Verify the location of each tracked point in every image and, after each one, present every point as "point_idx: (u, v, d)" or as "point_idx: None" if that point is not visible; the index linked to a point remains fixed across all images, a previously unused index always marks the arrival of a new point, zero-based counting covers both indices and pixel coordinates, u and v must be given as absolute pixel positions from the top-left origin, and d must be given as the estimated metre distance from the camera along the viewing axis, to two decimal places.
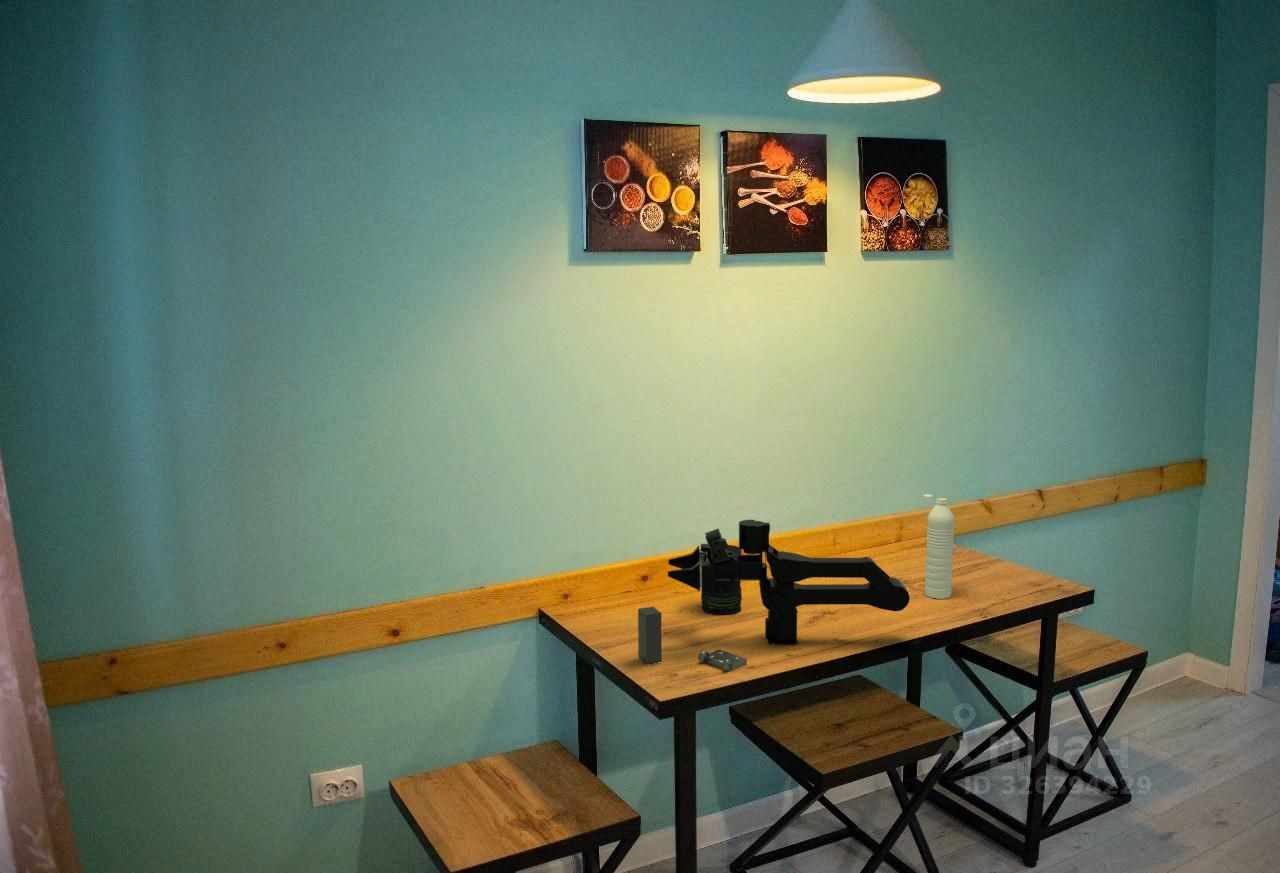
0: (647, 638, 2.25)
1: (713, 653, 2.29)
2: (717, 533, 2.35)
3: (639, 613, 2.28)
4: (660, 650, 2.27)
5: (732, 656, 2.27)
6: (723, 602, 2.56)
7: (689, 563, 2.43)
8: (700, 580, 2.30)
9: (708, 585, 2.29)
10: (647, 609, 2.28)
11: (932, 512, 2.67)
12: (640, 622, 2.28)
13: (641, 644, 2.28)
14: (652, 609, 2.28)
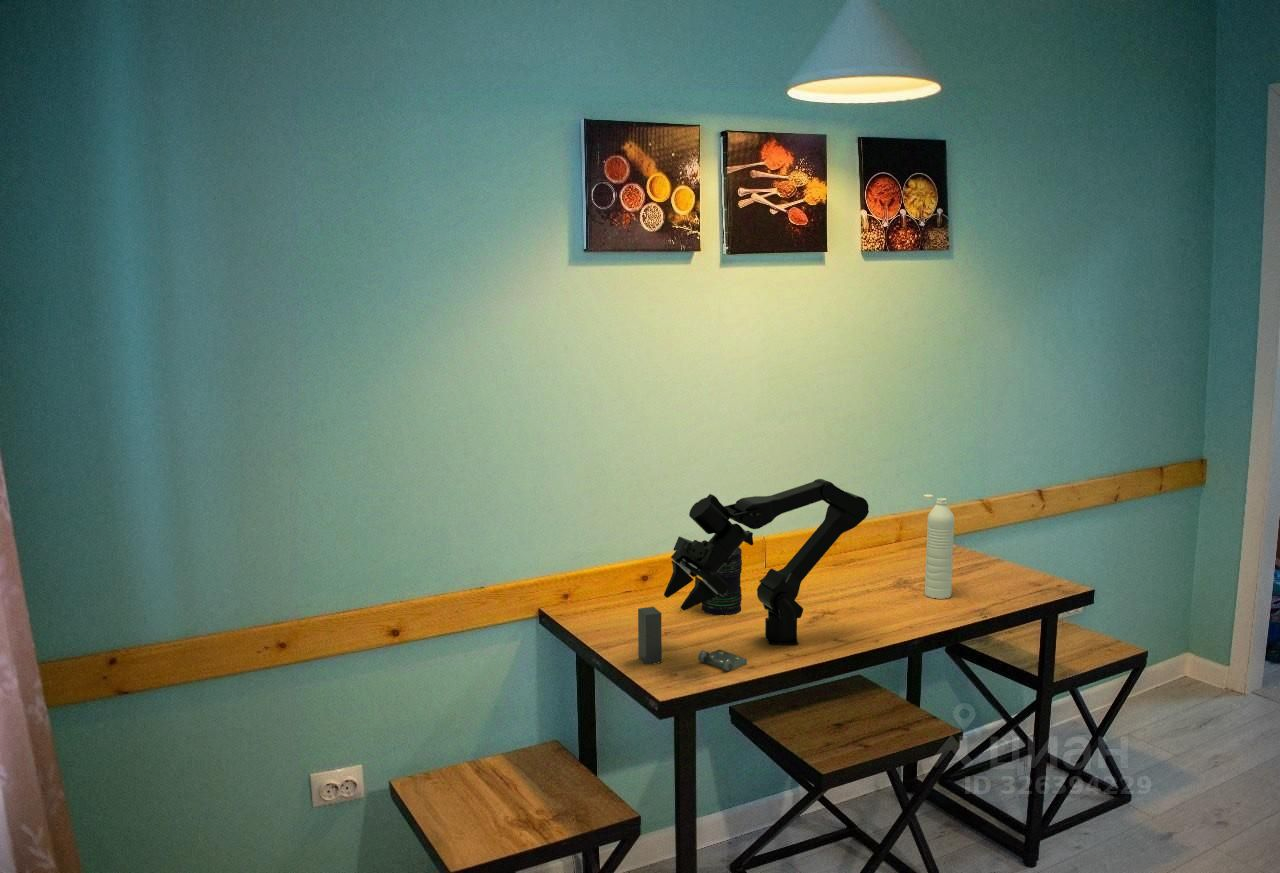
0: (647, 638, 2.25)
1: (713, 653, 2.29)
2: (685, 542, 2.26)
3: (639, 613, 2.28)
4: (660, 650, 2.27)
5: (732, 656, 2.27)
6: (723, 602, 2.56)
7: (680, 580, 2.34)
8: (712, 589, 2.23)
9: (722, 587, 2.22)
10: (647, 609, 2.28)
11: (932, 512, 2.67)
12: (640, 622, 2.28)
13: (641, 644, 2.28)
14: (652, 609, 2.28)
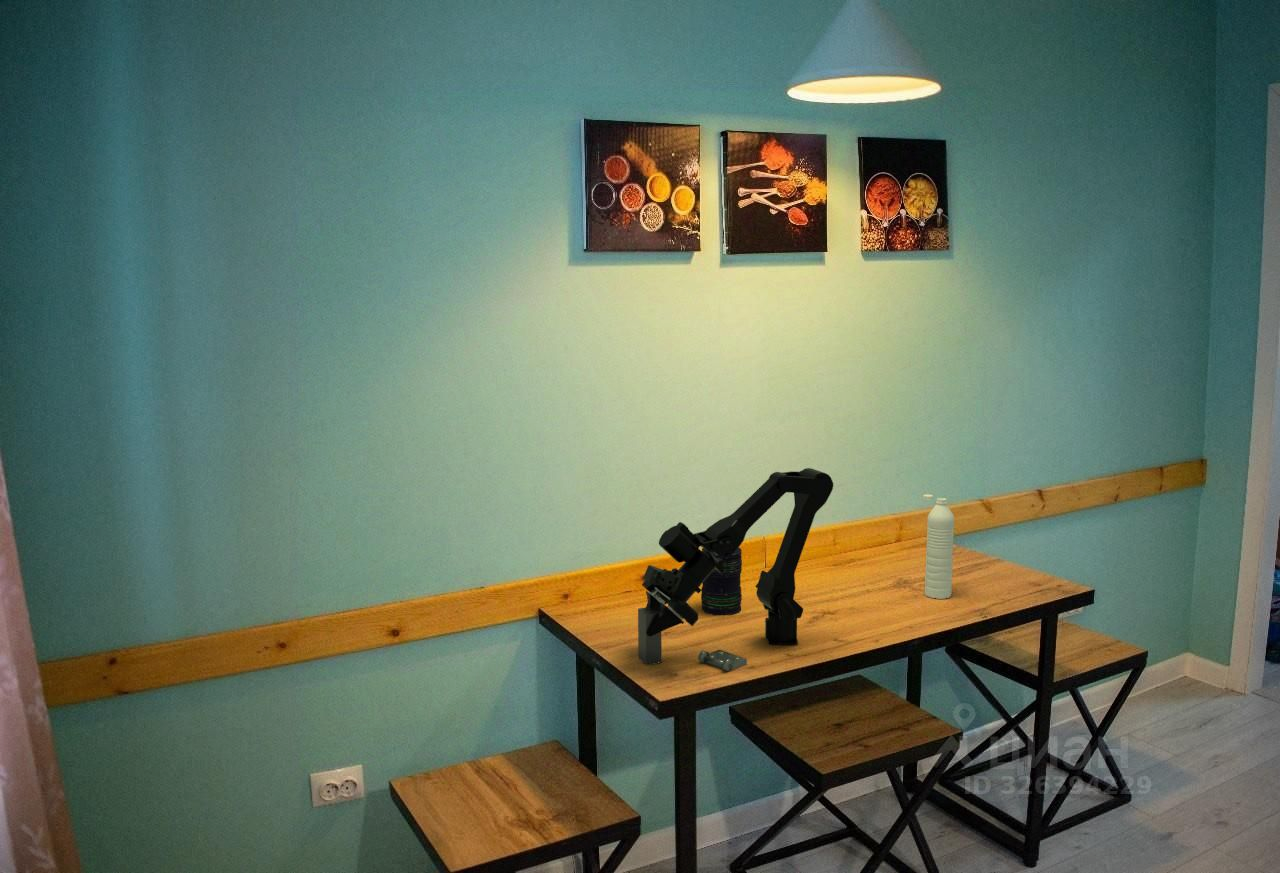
0: (647, 638, 2.25)
1: (713, 653, 2.29)
2: (654, 571, 2.24)
3: (639, 613, 2.28)
4: (660, 650, 2.27)
5: (732, 656, 2.27)
6: (723, 602, 2.56)
7: None
8: (677, 615, 2.23)
9: (691, 616, 2.20)
10: (647, 609, 2.28)
11: (932, 512, 2.67)
12: (640, 622, 2.28)
13: (641, 644, 2.28)
14: (652, 609, 2.28)
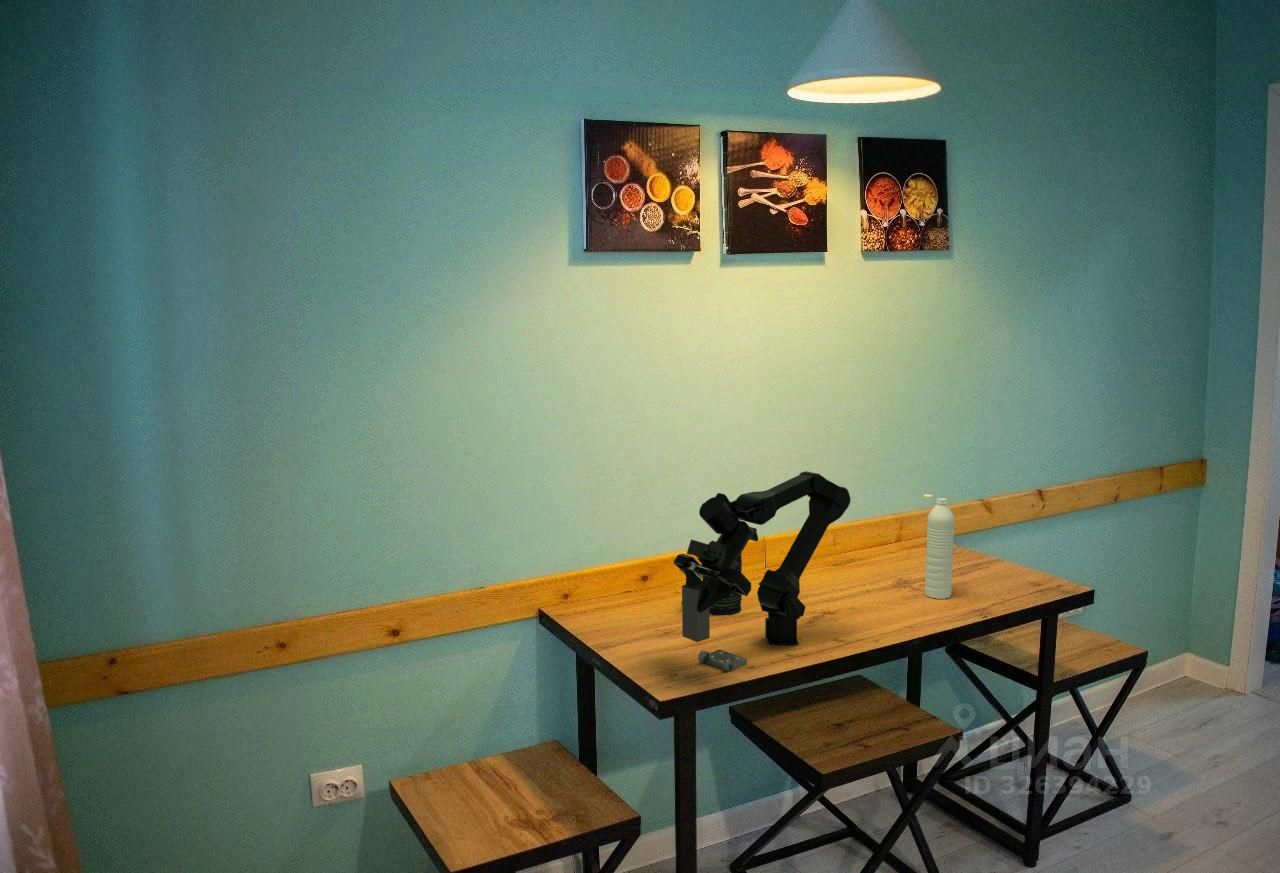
0: (698, 614, 2.19)
1: (713, 653, 2.29)
2: (703, 544, 2.18)
3: (684, 590, 2.21)
4: (708, 625, 2.22)
5: (732, 656, 2.27)
6: (723, 602, 2.56)
7: None
8: (729, 587, 2.19)
9: (747, 586, 2.17)
10: (691, 585, 2.22)
11: (932, 512, 2.67)
12: (686, 599, 2.21)
13: (688, 621, 2.22)
14: (696, 584, 2.22)
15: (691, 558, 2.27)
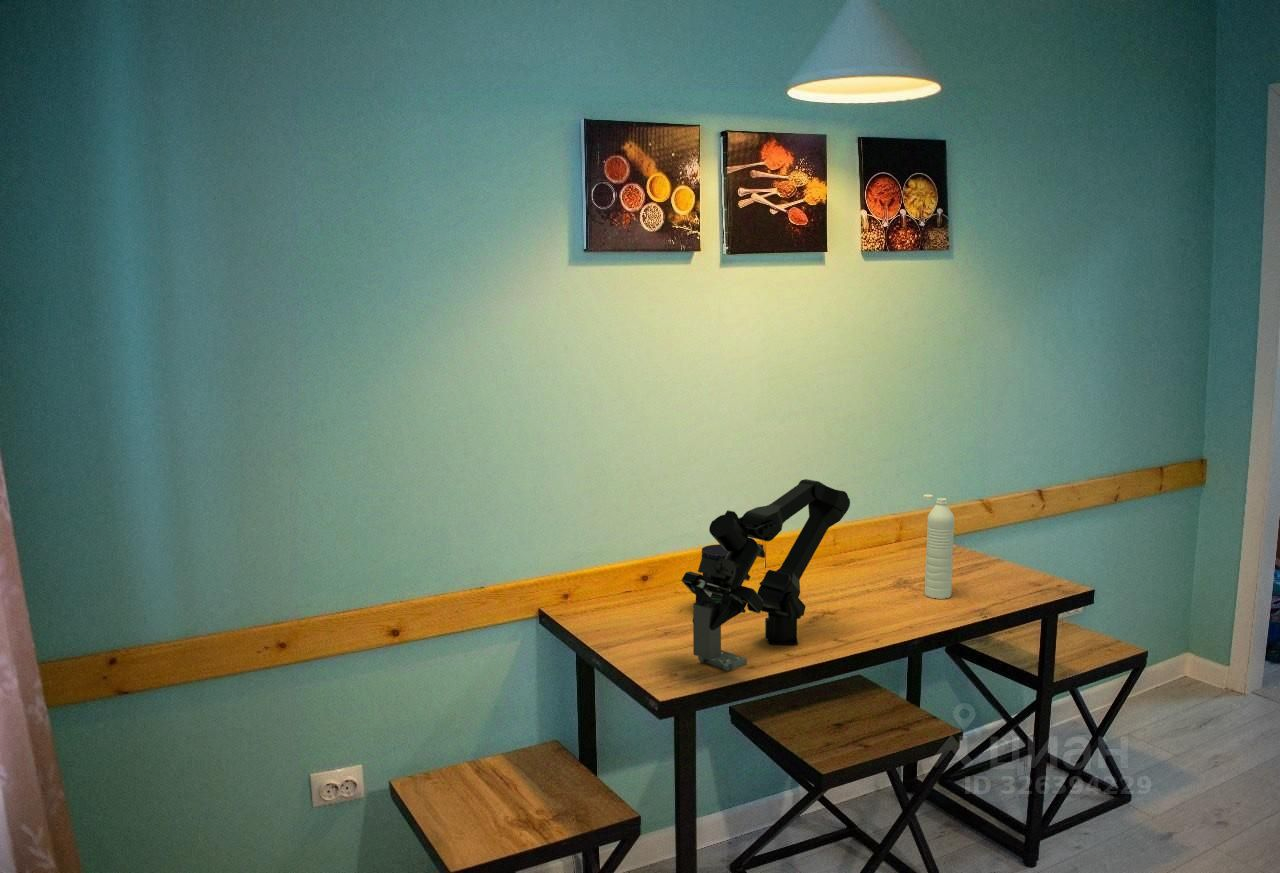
0: (710, 632, 2.19)
1: None
2: (715, 562, 2.18)
3: (696, 608, 2.21)
4: (719, 643, 2.22)
5: (732, 656, 2.27)
6: None
7: None
8: (741, 605, 2.20)
9: (759, 603, 2.18)
10: (703, 603, 2.22)
11: (932, 512, 2.67)
12: (698, 617, 2.21)
13: (699, 640, 2.21)
14: (708, 602, 2.22)
15: (700, 576, 2.27)
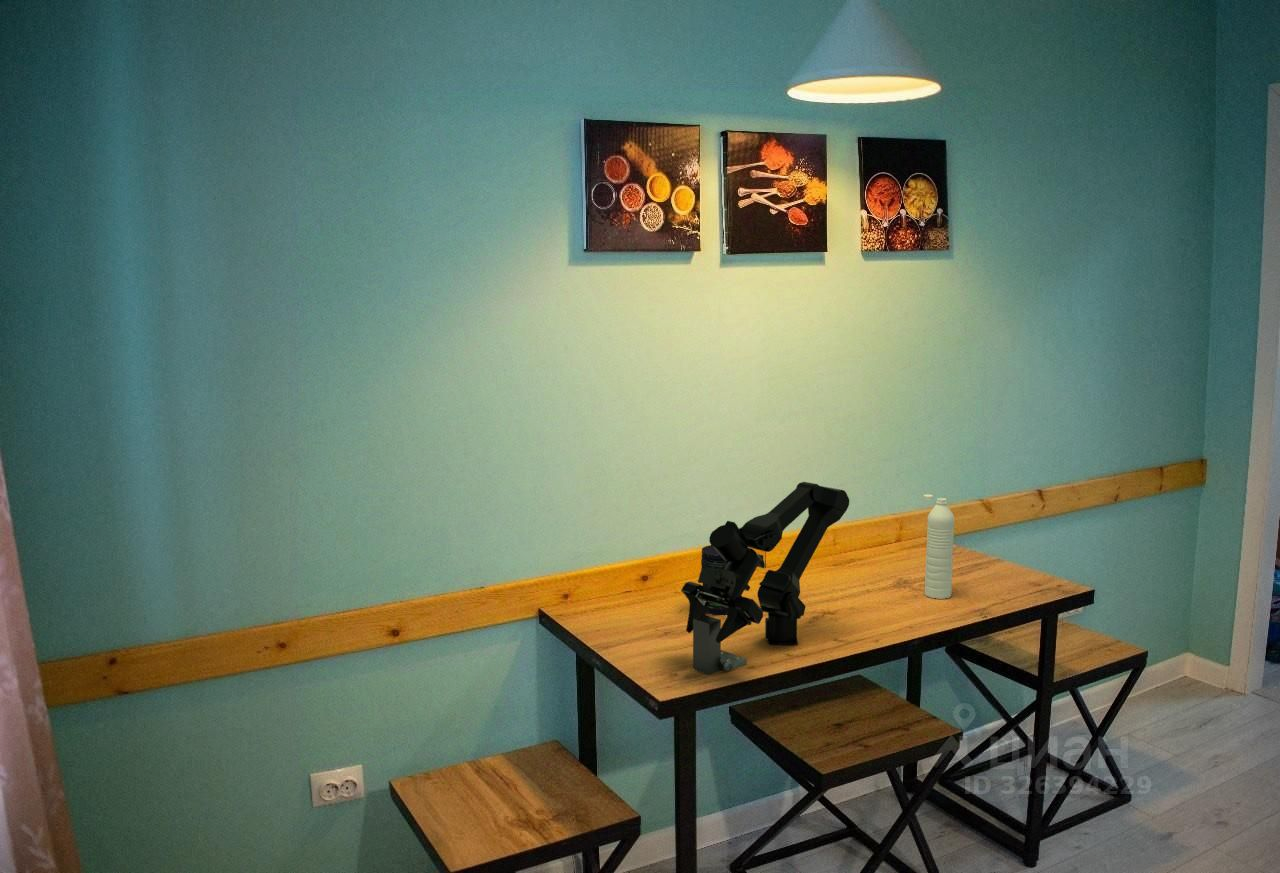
0: (710, 647, 2.20)
1: None
2: (715, 573, 2.19)
3: (696, 623, 2.21)
4: (719, 658, 2.22)
5: (732, 656, 2.27)
6: None
7: (698, 613, 2.26)
8: (747, 617, 2.19)
9: (759, 614, 2.18)
10: (703, 618, 2.22)
11: (932, 512, 2.67)
12: (697, 632, 2.21)
13: (699, 654, 2.22)
14: (707, 617, 2.22)
15: (700, 586, 2.27)
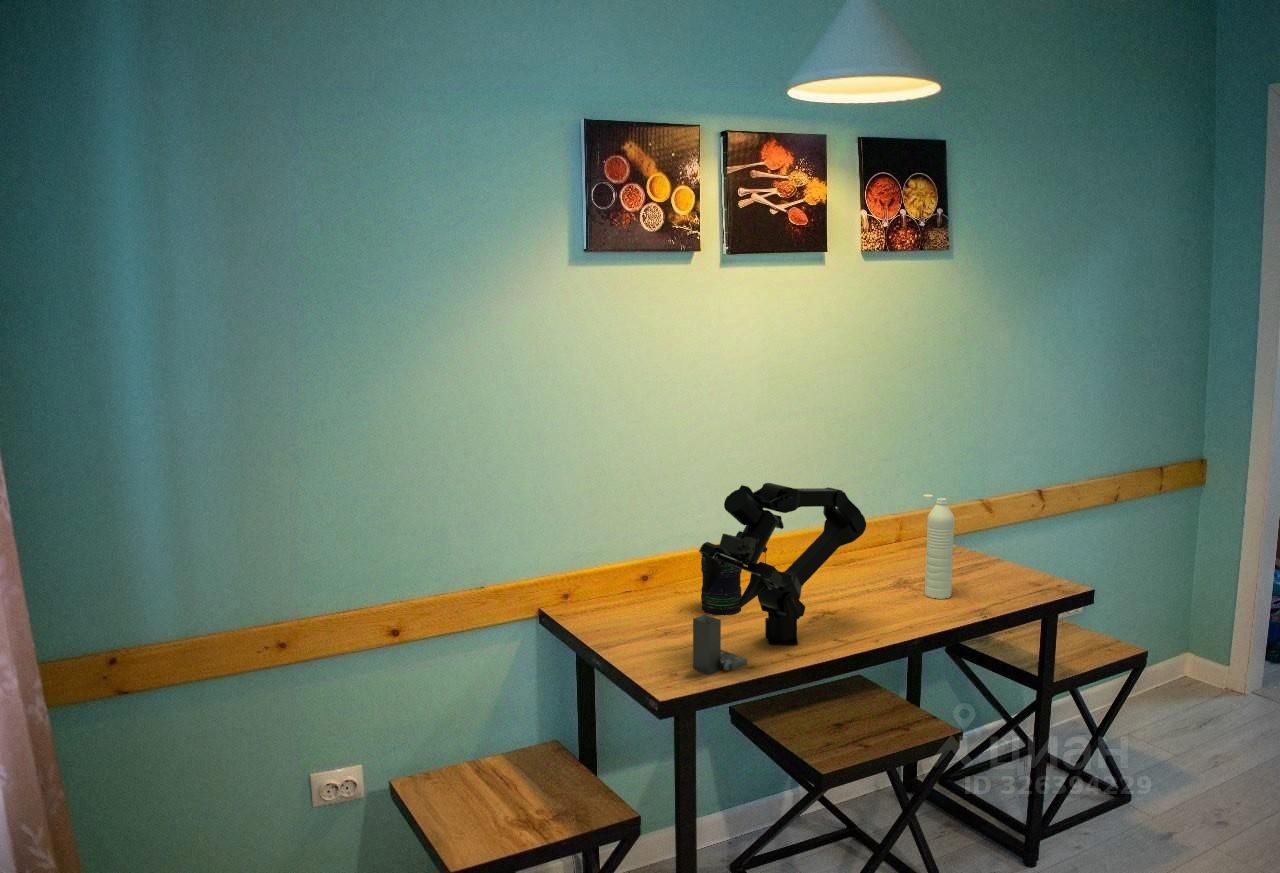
0: (710, 647, 2.20)
1: None
2: (737, 540, 2.22)
3: (695, 623, 2.21)
4: (719, 658, 2.22)
5: (732, 656, 2.27)
6: (723, 602, 2.56)
7: (714, 573, 2.31)
8: (768, 583, 2.24)
9: (779, 579, 2.24)
10: (703, 618, 2.22)
11: (932, 512, 2.67)
12: (697, 632, 2.21)
13: (699, 654, 2.22)
14: (707, 617, 2.22)
15: (718, 547, 2.31)
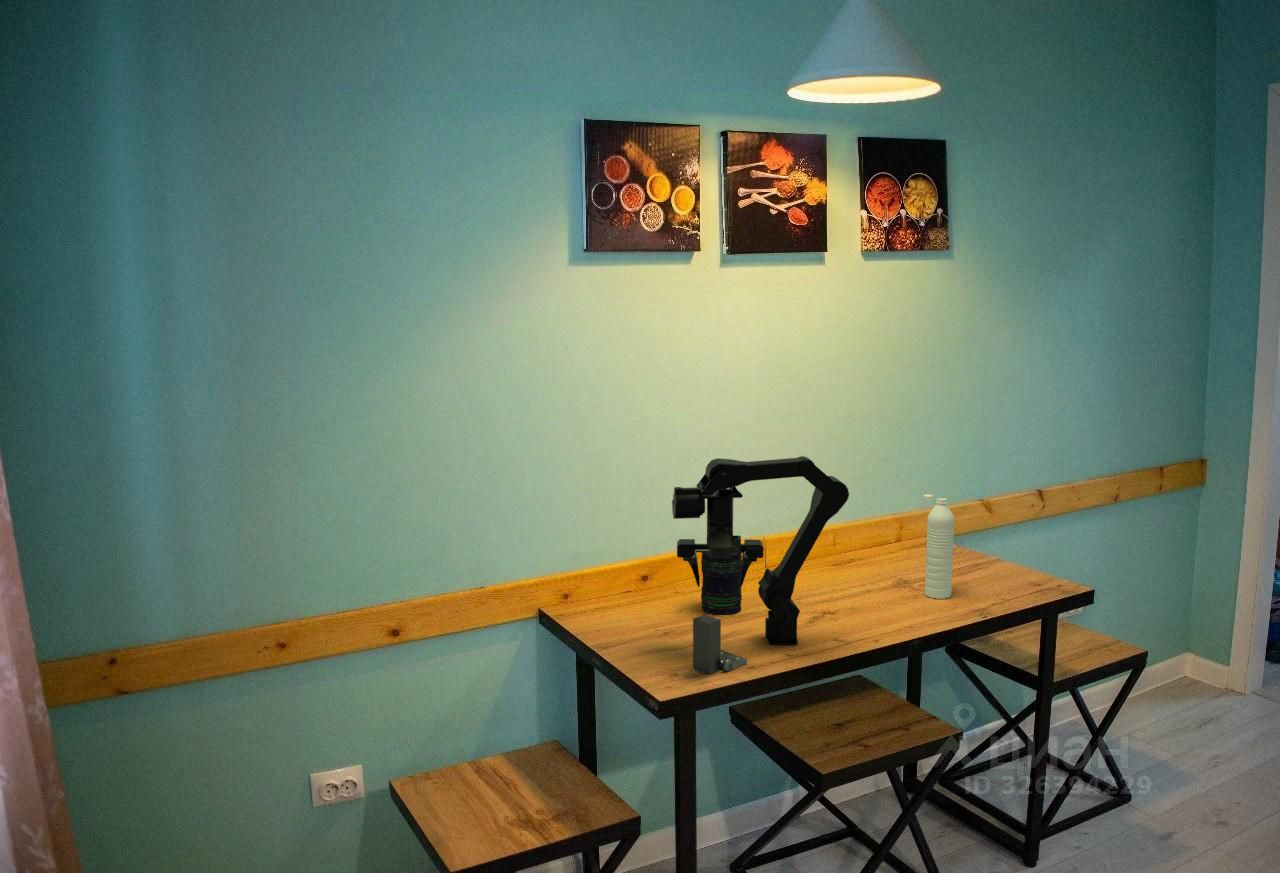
0: (710, 647, 2.20)
1: None
2: (729, 548, 2.27)
3: (695, 623, 2.21)
4: (719, 658, 2.22)
5: (732, 656, 2.27)
6: (723, 602, 2.56)
7: (696, 564, 2.37)
8: None
9: None
10: (703, 618, 2.22)
11: (932, 512, 2.67)
12: (697, 632, 2.21)
13: (699, 654, 2.22)
14: (707, 617, 2.22)
15: (694, 546, 2.33)
